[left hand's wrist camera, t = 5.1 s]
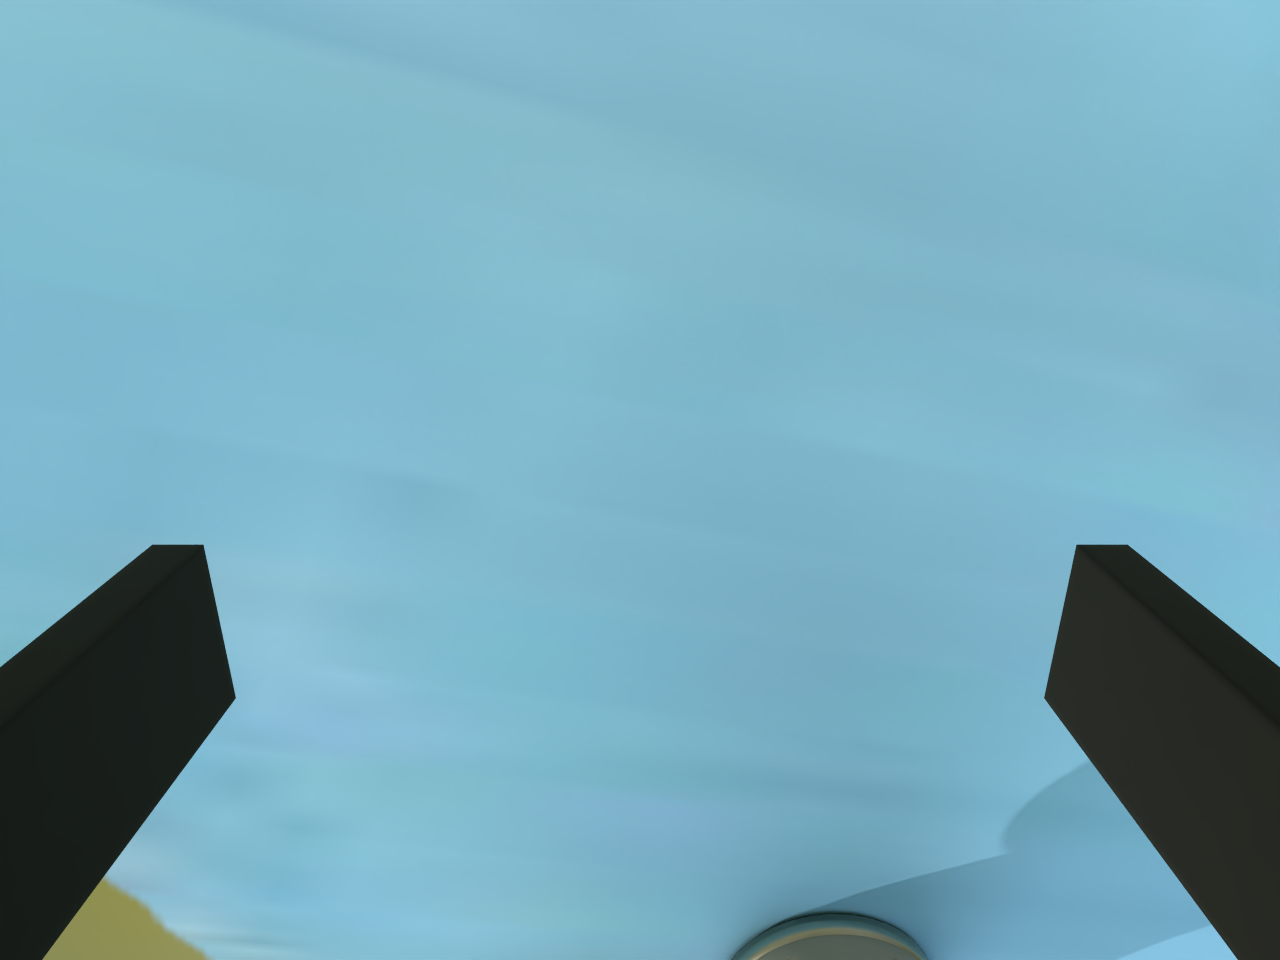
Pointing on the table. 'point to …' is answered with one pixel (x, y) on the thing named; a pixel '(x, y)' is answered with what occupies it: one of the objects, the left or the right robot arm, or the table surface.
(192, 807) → the table surface
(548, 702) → the table surface
